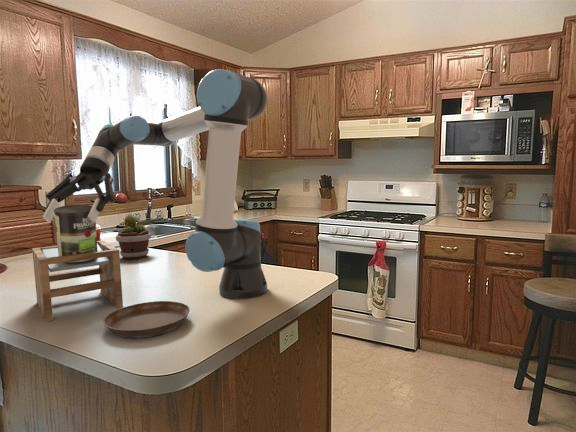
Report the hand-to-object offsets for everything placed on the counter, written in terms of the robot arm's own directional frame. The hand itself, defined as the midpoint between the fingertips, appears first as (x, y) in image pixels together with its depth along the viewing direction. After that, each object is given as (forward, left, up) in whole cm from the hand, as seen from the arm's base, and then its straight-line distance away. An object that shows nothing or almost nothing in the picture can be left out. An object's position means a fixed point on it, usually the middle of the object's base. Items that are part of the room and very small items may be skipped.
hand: (68, 219), depth 115 cm
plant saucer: (-25, -13, -26) cm, 38 cm away
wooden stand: (+4, -2, -26) cm, 26 cm away
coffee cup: (+66, -18, -26) cm, 73 cm away
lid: (+5, -2, -12) cm, 13 cm away
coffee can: (+2, -2, -11) cm, 12 cm away
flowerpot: (+59, -34, -26) cm, 73 cm away
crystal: (+93, -36, -26) cm, 103 cm away
